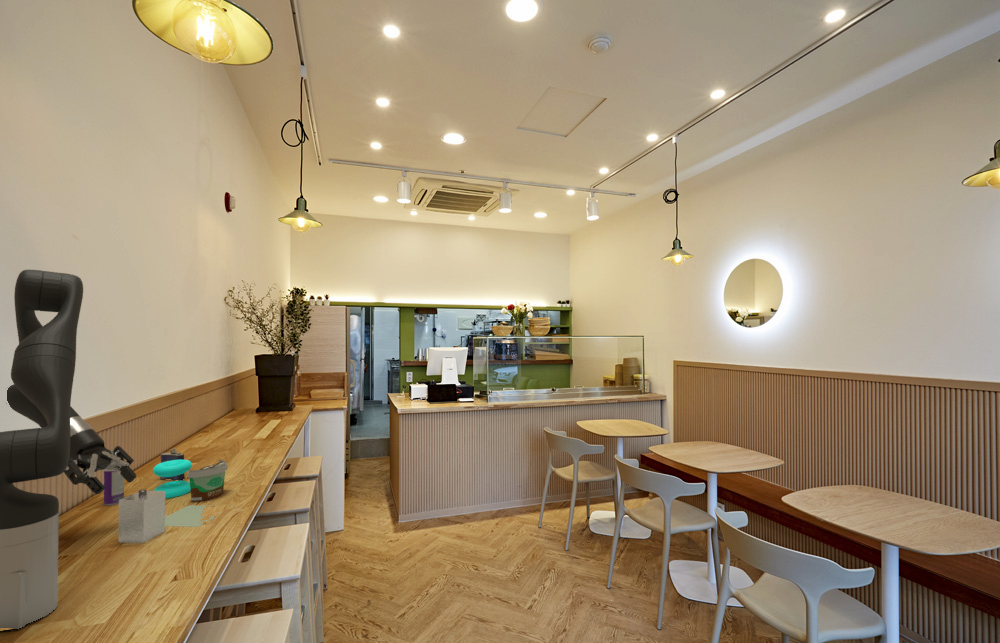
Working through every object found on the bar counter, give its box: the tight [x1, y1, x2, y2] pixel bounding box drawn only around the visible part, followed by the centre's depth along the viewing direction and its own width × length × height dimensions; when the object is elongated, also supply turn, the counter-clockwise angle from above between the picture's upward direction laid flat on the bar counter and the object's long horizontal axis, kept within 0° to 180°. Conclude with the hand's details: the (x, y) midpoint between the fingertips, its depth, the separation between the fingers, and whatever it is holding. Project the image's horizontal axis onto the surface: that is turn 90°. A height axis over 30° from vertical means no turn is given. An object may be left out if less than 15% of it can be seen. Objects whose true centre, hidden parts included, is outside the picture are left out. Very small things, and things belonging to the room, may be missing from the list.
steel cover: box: [118, 489, 166, 544], centre depth 113 cm, size 6×6×12 cm
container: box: [103, 460, 125, 507], centre depth 137 cm, size 5×5×15 cm
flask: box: [159, 447, 185, 481], centre depth 159 cm, size 9×3×11 cm, turn 76°
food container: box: [187, 459, 229, 503], centre depth 140 cm, size 12×6×10 cm, turn 168°
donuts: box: [152, 459, 193, 500], centre depth 144 cm, size 10×10×10 cm
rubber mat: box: [165, 504, 235, 528], centre depth 126 cm, size 14×14×1 cm
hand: (117, 485), depth 114 cm, fingers open, 8 cm apart
